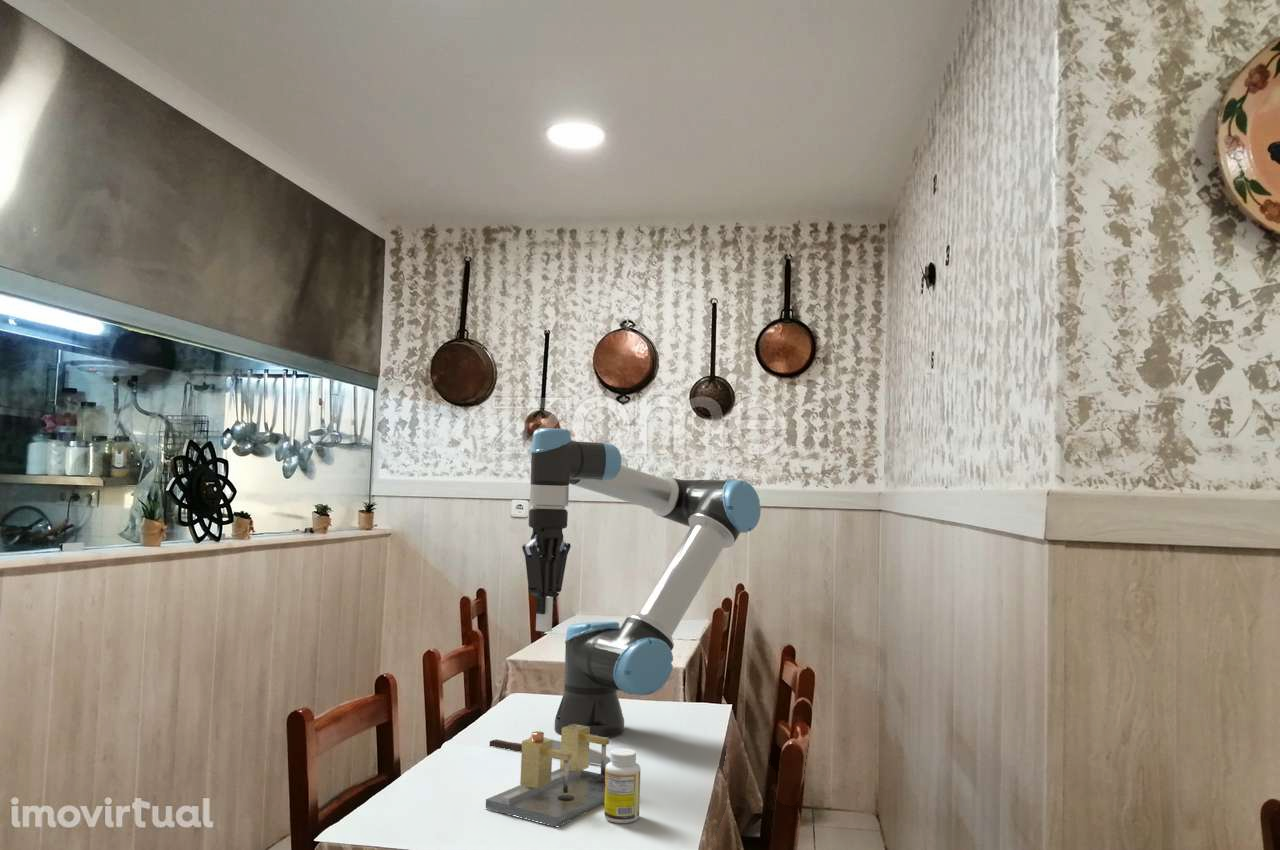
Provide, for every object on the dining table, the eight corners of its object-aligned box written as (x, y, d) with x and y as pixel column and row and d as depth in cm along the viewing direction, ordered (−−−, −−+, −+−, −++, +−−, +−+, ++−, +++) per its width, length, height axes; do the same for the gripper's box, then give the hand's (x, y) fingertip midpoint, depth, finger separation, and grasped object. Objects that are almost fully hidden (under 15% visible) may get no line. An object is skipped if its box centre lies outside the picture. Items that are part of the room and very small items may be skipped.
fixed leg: (571, 764, 159) (573, 723, 159) (611, 773, 154) (612, 731, 155) (560, 769, 156) (561, 727, 156) (600, 778, 151) (601, 735, 152)
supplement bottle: (619, 809, 143) (622, 744, 144) (646, 818, 140) (648, 751, 141) (596, 818, 139) (598, 751, 140) (623, 827, 136) (625, 758, 136)
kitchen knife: (489, 730, 178) (622, 749, 165) (493, 729, 179) (625, 747, 166) (489, 752, 177) (622, 772, 164) (492, 750, 178) (625, 771, 165)
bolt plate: (565, 774, 161) (565, 760, 161) (631, 789, 153) (631, 774, 154) (485, 809, 142) (486, 792, 142) (556, 827, 135) (557, 810, 135)
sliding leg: (533, 780, 149) (535, 729, 150) (574, 789, 145) (576, 737, 145) (520, 785, 146) (522, 733, 147) (561, 795, 142) (564, 741, 142)
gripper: (552, 507, 180) (548, 625, 178) (512, 506, 169) (506, 632, 167) (583, 508, 176) (578, 629, 174) (544, 508, 165) (538, 636, 163)
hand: (543, 630), depth 171 cm, fingers closed
